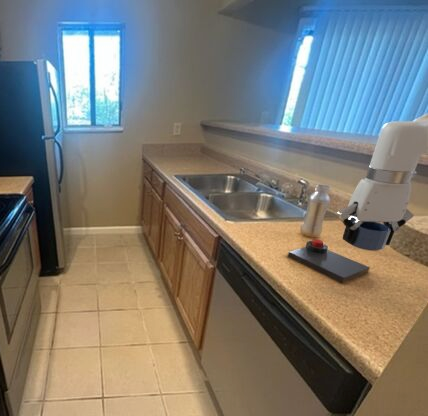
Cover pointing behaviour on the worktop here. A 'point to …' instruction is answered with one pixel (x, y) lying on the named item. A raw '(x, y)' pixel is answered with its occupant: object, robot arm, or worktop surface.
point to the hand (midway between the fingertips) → (365, 241)
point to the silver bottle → (316, 211)
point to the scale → (328, 262)
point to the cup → (371, 236)
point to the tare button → (317, 243)
